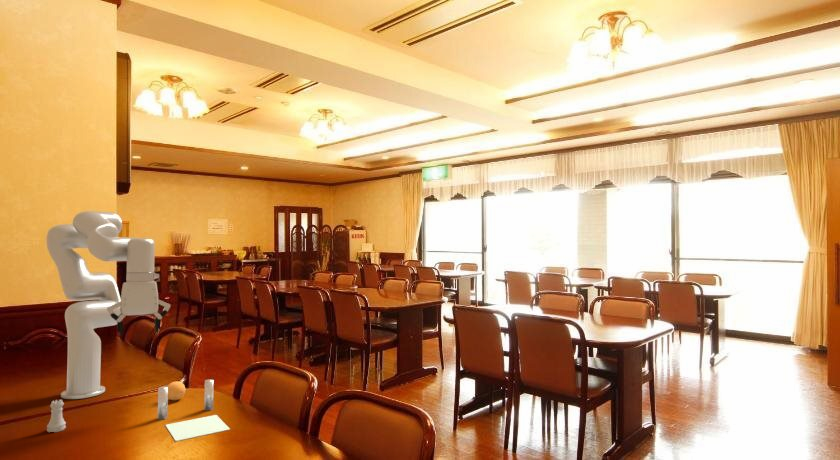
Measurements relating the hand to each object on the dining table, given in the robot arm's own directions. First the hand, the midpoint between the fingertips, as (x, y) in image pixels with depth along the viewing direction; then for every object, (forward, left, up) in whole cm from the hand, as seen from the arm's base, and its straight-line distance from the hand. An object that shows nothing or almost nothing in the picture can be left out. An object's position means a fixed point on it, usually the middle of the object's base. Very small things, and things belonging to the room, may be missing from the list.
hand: (139, 333), depth 154 cm
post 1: (+11, +5, -24) cm, 27 cm away
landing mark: (+25, +12, -24) cm, 37 cm away
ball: (-5, +12, -21) cm, 25 cm away
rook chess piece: (+4, -20, -24) cm, 32 cm away
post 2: (+11, +18, -24) cm, 32 cm away
